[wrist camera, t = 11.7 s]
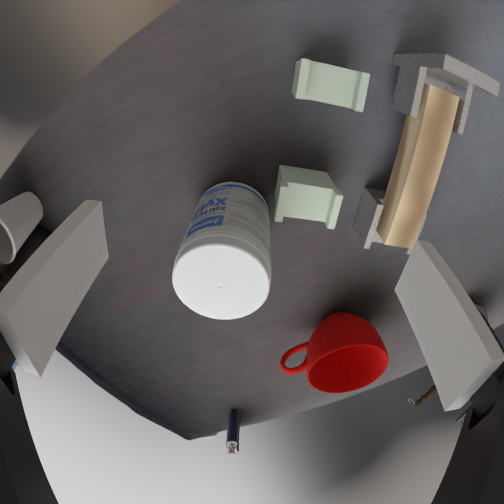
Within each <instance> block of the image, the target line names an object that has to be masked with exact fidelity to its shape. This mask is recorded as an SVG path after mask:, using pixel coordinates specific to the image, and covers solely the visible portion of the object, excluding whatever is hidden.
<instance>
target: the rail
mask: <svg viewBox="0 0 504 504" xmlns="http://www.w3.org/2000/svg"><path fill="white" fill-rule="evenodd" d="M458 102H459V97H458V96H456V95H453V94H451V93H449V92H447V91H444V90H442V89H440V88H437V87H435V86H432V85H429V84H424V86H423V91H422V96H421V101H420V106H419V110H418V114H417V118H415V117H412V116H409V115H406V119H405V123H404V127H403V132H402V136H401V140H400V144H399V148H398V151H397V155H396V159H395V163H394V166H393V170H392V173H391V177H390V180H389V184H388V187H387V190H386V194H385V197H384V200H383V205H384V207H383V210H382V213H381V216H380V219H379V222H378V225H377V228H376V231H377V233H378V234H379V236H380V238H381V239H382V241H383V243H384V244H385V245H391V246H398V247H405V248H411V249H412V248H413V246H414V243H415V241H416V238H417V236H418V233H419V231H420V228H421V226H422V223H423V220H424V218H425V215H426V212H427V209H428V207H429V204H430V201H431V198H432V195H433V192H434V189H435V186H436V183H437V180H438V177H439V174H440V171H441V167H442V164H443V161H444V157H445V154H446V150H447V147H448V143H449V139H450V136H451V132H452V128H453V124H454V120H455V115H456V111H457V107H458Z"/></svg>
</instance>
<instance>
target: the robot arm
mask: <svg viewBox="0 0 504 504" xmlns="http://www.w3.org/2000/svg"><path fill="white" fill-rule="evenodd" d="M108 258H109V256H108V250H107V243H106V235H105V227H104V219H103V209H102V201H94V200H85V201H84V202H83V203H82V204H81V205H80V206H79V207H78V208H77V209H76V210H75V211H74V212H73V213H72V214H71V215H70V216H69V217H68V218H67V219H66V220H65V221H64V222H63V223H62V224H61V225H60V226H59V227H58V228H57V229H56V230H55V231H54V232H53V233H52V234H50V233H49V232H47V231H45V230H43V229H40V228H37V227H35V228H34V230H33V231H32V232H31V234H30V235H29V236H28V238H27V239H26V241H25V242H24V243H23V245H22V246H21V248H20V249H19V250H18V252H17V253H16V255H15V258H14V260H13V261H12V262H11V263H9V264H2V263H0V504H58V502H57V500H56V497H55V495H54V493H53V491H52V489H51V486H50V484H49V482H48V479H47V477H46V475H45V472H44V470H43V467H42V465H41V462H40V459H39V456H38V454H37V451H36V448H35V445H34V442H33V439H32V436H31V433H30V430H29V426H28V423H27V420H26V416H25V413H24V409H23V406H22V401H21V397H20V393H19V389H18V385H17V380H16V375H15V372H14V369H15V368H16V366H17V365H18V364H19V365H20V367H21V369H22V370H23V371H24V372H27V373H29V374H32V375H35V376H38V377H41V375H42V373H43V371H44V369H45V367H46V365H47V363H48V361H49V359H50V357H51V355H52V353H53V352H54V350H55V348H56V346H57V344H58V342H59V340H60V338H61V336H62V335H63V333H64V331H65V329H66V327H67V326H68V324H69V322H70V320H71V318H72V317H73V315H74V313H75V311H76V310H77V308H78V306H79V305H80V303H81V301H82V300H83V298H84V296H85V295H86V293H87V291H88V290H89V288H90V286H91V285H92V283H93V281H94V280H95V278H96V277H97V275H98V274H99V272H100V270H101V269H102V267H103V266H104V264H105V263H106V261H107V260H108ZM395 292H396V294H397V296H398V298H399V300H400V303H401V305H402V307H403V309H404V311H405V313H406V316H407V318H408V320H409V322H410V324H411V327H412V329H413V331H414V334H415V336H416V338H417V340H418V343H419V345H420V348H421V350H422V352H423V355H424V357H425V360H426V362H427V365H428V367H429V370H430V372H431V375H432V378H433V380H434V383H435V385H436V388H437V391H438V393H439V396H440V399H441V402H442V405H443V408H444V411H449V410H453V409H459V408H461V407H462V406H463V405H464V404H465V403H466V402H467V401H468V400H469V399H471V402H472V406H470V407H469V408H468V409H467V410H466V411H465V412H464V413H463V414H462V415H461V416H460V417H459V418H458V419H457V420H456V422H455V423H456V424H458V423H459V422H460V421H461V420H462V419H464V422H463V423H462V424H461V425H460V426H461V427H462V429H461V432H460V435H459V438H458V441H457V444H456V446H455V449H454V452H453V455H452V457H451V460H450V462H449V465H448V467H447V470H446V472H445V475H444V477H443V479H442V482H441V484H440V486H439V489H438V491H437V493H436V495H435V497H434V499H433V501H432V503H431V504H504V348H503V347H502V345H501V343H500V341H499V340H498V338H497V336H496V335H494V331H493V329H492V328H491V327H490V324H489V323H488V321H487V320H486V318H485V316H484V315H483V314H482V313H481V312H480V311H479V310H478V309H477V308H476V306H475V305H474V303H473V302H472V300H471V299H470V297H469V296H468V294H467V293H466V291H465V290H464V288H463V287H462V285H461V284H460V282H459V281H458V280H457V278H456V277H455V275H454V274H453V273H452V271H451V270H450V268H449V267H448V266H447V264H446V263H445V261H444V260H443V259H442V257H441V256H440V255H439V253H438V252H437V251H436V249H435V248H434V247H433V246H432V244H431V243H430V242H426V241H420V240H416V242H415V244H414V247H413V249H412V251H411V254H410V256H409V259H408V261H407V263H406V265H405V268H404V270H403V272H402V274H401V277H400V279H399V281H398V283H397V285H396V288H395Z"/></svg>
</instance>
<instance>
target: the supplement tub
mask: <svg viewBox="0 0 504 504" xmlns="http://www.w3.org/2000/svg"><path fill="white" fill-rule="evenodd" d="M172 281H173V286H174V289H175V291H176V293H177V295H178V297H179V298H180V299H181V301H182V302H183V303H184V304H185V305H186V306H188V307H189V308H190V309H192V310H193V311H195V312H197V313H199V314H201V315H203V316H206V317H210V318H214V319H236V318H241V317H244V316H246V315H249V314H251V313H252V312H254V311H256V310H257V309H258V308H259V307H260V306H261V305H262V304H263V303H264V302H265V300H266V298H267V296H268V293H269V290H270V282H271V249H270V222H269V210H268V206H267V204H266V202H265V200H264V198H263V197H262V196H261V194H260V193H259V192H258V191H256V190H255V189H254V188H252V187H250V186H248V185H246V184H243V183H239V182H224V183H220V184H217V185H215V186H213V187H211V188H210V189H208V190H207V191H206V192H205V193H204V194H203V195H202V197H201V198H200V200H199V202H198V204H197V207H196V209H195V212H194V214H193V217H192V219H191V221H190V224H189V226H188V229H187V231H186V234H185V236H184V239H183V241H182V243H181V246H180V249H179V251H178V254H177V257H176V259H175V263H174V269H173V274H172Z"/></svg>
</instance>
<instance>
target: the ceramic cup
mask: <svg viewBox="0 0 504 504" xmlns="http://www.w3.org/2000/svg"><path fill="white" fill-rule="evenodd" d="M304 349H307V355H306V357H305V360H304V362H303V363H302V364H301V365H299V366H297V367H295V368H288V367H286V366H285V361H286V360H287V359H288V358H289V357H290V356H291V355H293V354H294V353H296V352H299V351H301V350H304ZM388 360H389V359H388V354H387V351H386V348H385V346H384V344H383V341H382V339H381V338H380V336H379V334H378V333H377V331H376V330H375V328H374V327H373V326H372V325H371V324H370V323H369V322H368V321H366V320H365V319H364V318H362V317H360V316H357V315H354V314H351V313H347V312H338V313H334V314H331V315H329V316H328V317H326V318H325V319H324V320H323V321H322V322H321V323H320V324H319V325H318V326H317V328H316V329H315V330H314V332H313V334H312V336H311V338H310V340H309V341H308V342H305V343H303V344H300V345H297V346H295V347H293V348H291V349H289V350H288V351H287V352H286V353H285V354H284V355H283V356H282V358H281V361H280V366H281V369H282V370H283V371H284V372H285V373H287V374H297V373H300V372H302V371H304V370H305V369H306V370H307V378H308V382H309V383H310V385H311V386H313V387H314V388H315V389H317V390H319V391H323V392H328V393H344V392H349V391H354V390H357V389H360V388H362V387H365V386H367V385H369V384H370V383H372V382H374V381H375V380H376V379H378V378H379V377H380V376H381V375H382V374H383V372H384V371H385V370H386V368H387V365H388Z"/></svg>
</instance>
